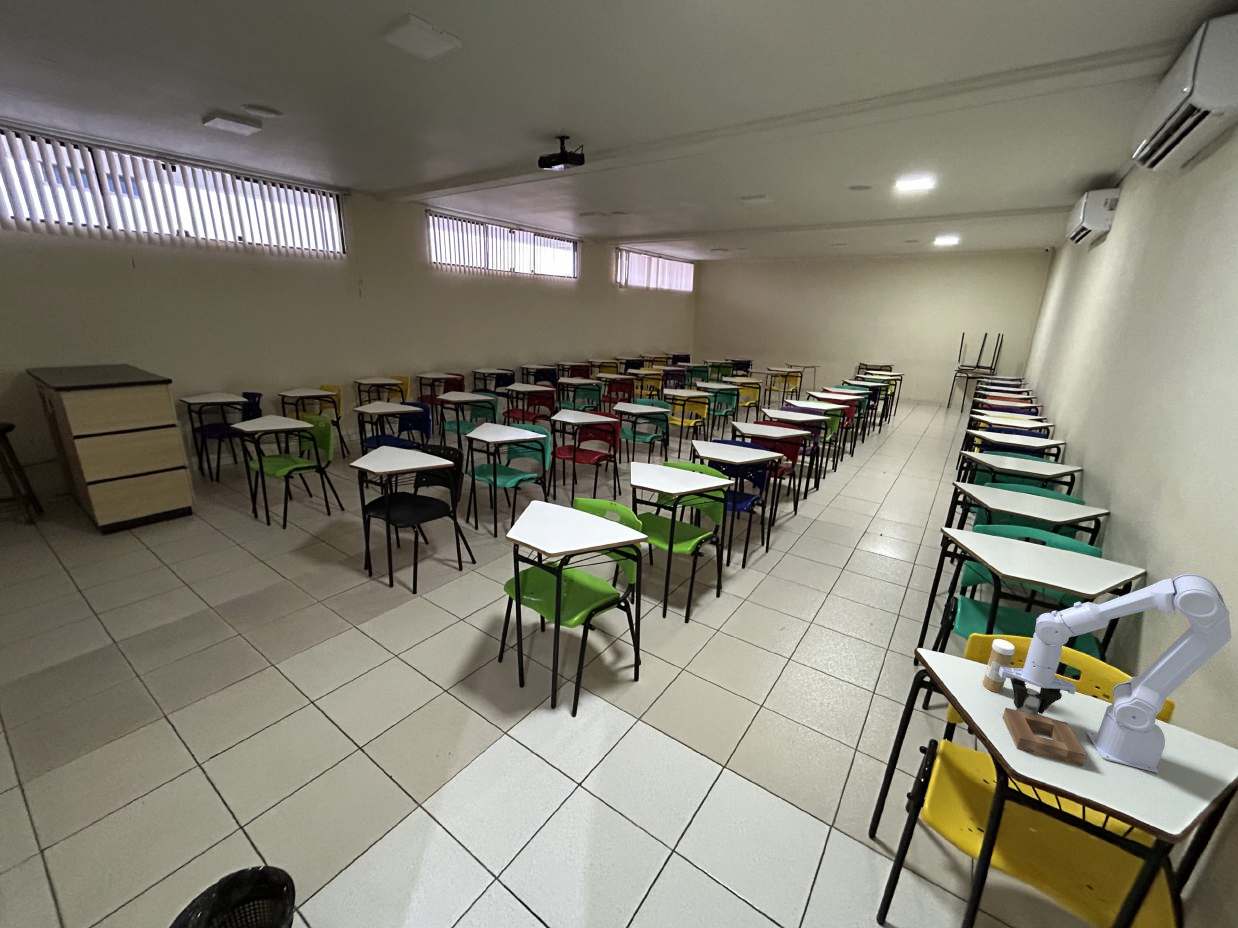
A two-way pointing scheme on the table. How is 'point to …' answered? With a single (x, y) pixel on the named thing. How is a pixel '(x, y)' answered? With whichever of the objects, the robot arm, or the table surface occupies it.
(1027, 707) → the peg
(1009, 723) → the socket block
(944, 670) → the table surface
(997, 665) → the sprinkles bottle
